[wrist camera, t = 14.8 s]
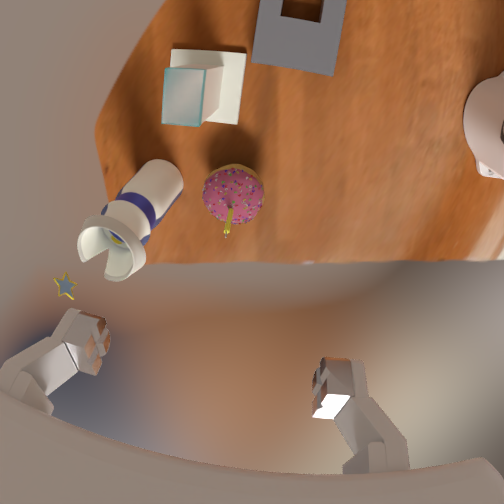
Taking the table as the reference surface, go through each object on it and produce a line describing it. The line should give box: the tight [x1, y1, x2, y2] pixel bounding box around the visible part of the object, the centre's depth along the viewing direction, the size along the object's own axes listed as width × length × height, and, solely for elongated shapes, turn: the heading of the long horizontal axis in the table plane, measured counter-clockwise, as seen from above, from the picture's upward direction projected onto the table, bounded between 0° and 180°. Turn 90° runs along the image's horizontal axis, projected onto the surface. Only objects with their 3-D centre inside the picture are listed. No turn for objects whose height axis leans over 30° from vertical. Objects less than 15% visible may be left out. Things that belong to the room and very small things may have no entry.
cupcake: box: [202, 164, 265, 238], centre depth 42 cm, size 9×8×12 cm
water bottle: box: [53, 159, 183, 300], centre depth 38 cm, size 8×9×25 cm
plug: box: [162, 64, 224, 127], centre depth 34 cm, size 4×6×11 cm
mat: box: [170, 49, 247, 125], centre depth 39 cm, size 10×10×1 cm
